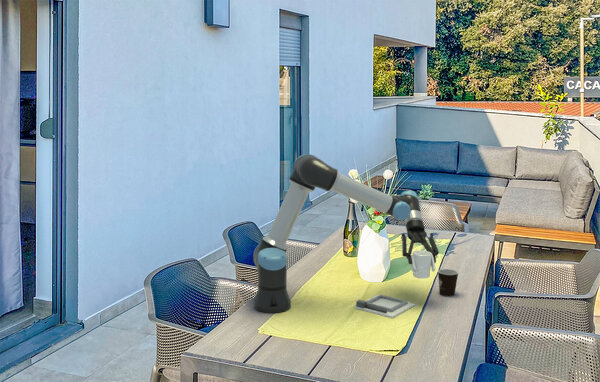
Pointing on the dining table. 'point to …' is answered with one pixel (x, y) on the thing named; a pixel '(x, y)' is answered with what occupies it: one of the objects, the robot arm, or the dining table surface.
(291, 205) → the robot arm
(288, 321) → the dining table surface
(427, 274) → the white cup
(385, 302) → the dock
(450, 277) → the coffee mug
